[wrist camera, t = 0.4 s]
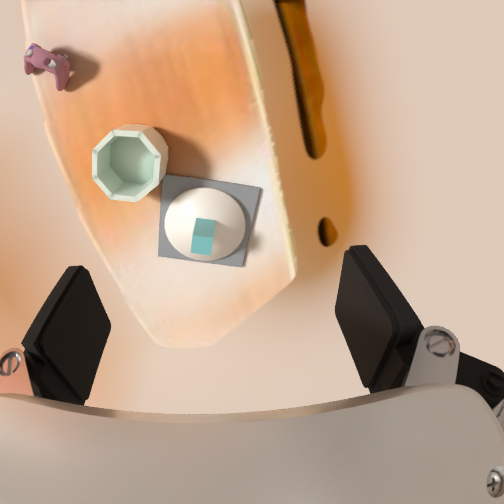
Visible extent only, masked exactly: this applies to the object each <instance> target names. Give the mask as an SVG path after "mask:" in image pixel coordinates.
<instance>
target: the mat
mask: <svg viewBox="0 0 504 504" xmlns="http://www.w3.org/2000/svg"><path fill="white" fill-rule="evenodd" d="M196 187H213V188H217V189H220V190H222V191H224V192H226V193H228V194H229V195H231V196H232V197H233V198H234V199H235V200H236V201H237V202H238V203H239V205H240V207H241V208H242V211H243V213H244V217H245V233H244V237H243V239H242V241H241V243H240V244H239V246H238V247H237V248H236V249H235V250H234V251H233V252H232V253H230V254H229V255H227V256H225V257H223V258H220V259H217V260H211V261H200V260H195V259H192V258H189V257H187V256H185V255H183V254H181V253H180V252H179V251H177V250H176V249H175V248H174V247H173V245H172V244H171V243H170V241H169V240H168V237H167V235H166V232H165V216H166V213H167V210H168V208H169V206H170V204H171V203H172V201H173V200H174V199H175V198H176V197H177V196H178V195H180V194H181V193H183V192H184V191H186V190H189V189H192V188H196ZM259 191H260V187H254V186H248V185H242V184H236V183H229V182H223V181H216V180H209V179H202V178H194V177H187V176H179V175H170V174H165V176H164V177H163V180H162V193H161V207H160V224H159V250H158V256H160V257H167V258H175V259H182V260H189V261H197V262H204V263H212V264H220V265H228V266H235V267H242V265H243V261H244V256H245V252H246V248H247V243H248V239H249V235H250V230H251V226H252V222H253V217H254V213H255V209H256V204H257V200H258V196H259Z"/></svg>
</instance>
